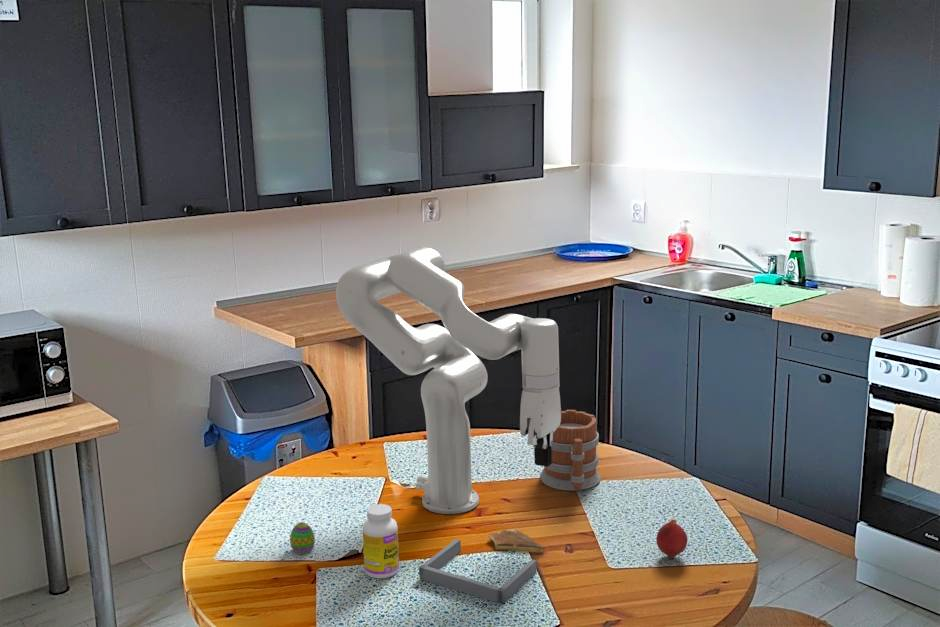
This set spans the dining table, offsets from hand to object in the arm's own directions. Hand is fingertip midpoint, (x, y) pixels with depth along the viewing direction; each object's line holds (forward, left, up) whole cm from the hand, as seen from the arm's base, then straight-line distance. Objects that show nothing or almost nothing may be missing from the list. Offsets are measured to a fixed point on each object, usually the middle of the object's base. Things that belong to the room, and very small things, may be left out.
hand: (543, 464), depth 199 cm
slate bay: (-1, -25, -13) cm, 28 cm away
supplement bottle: (-18, -33, -14) cm, 40 cm away
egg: (-37, -34, -14) cm, 52 cm away
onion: (+28, -1, -14) cm, 31 cm away
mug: (-4, +21, -14) cm, 25 cm away
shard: (-1, -10, -14) cm, 17 cm away
